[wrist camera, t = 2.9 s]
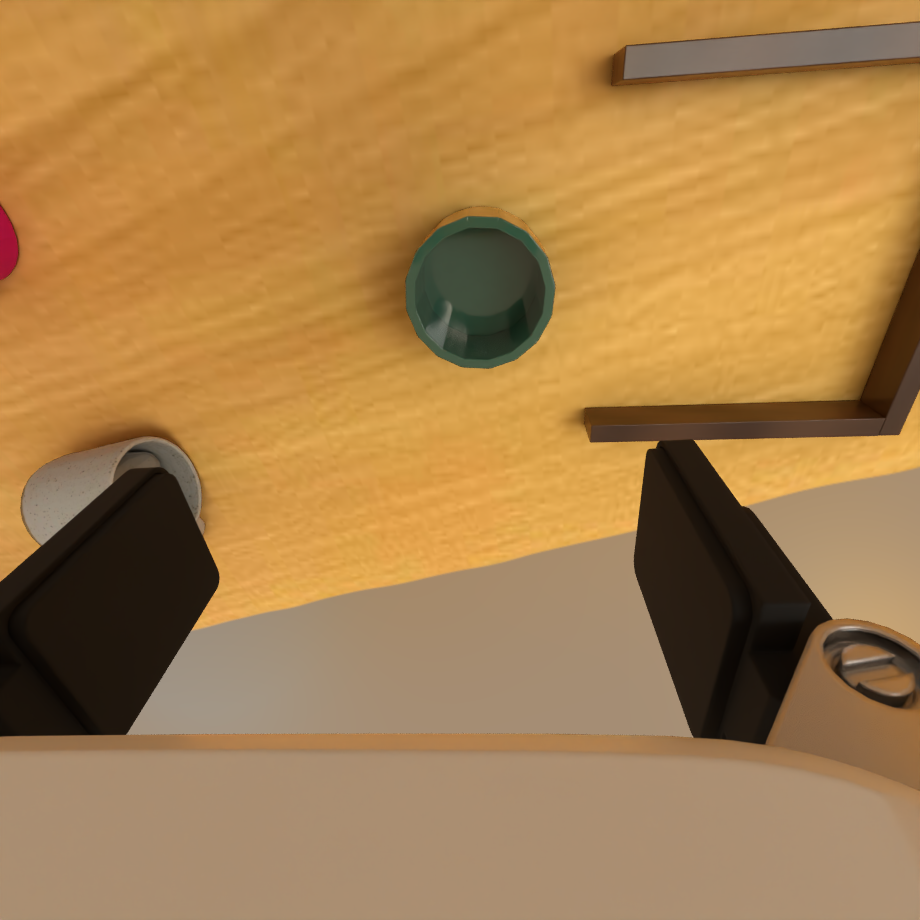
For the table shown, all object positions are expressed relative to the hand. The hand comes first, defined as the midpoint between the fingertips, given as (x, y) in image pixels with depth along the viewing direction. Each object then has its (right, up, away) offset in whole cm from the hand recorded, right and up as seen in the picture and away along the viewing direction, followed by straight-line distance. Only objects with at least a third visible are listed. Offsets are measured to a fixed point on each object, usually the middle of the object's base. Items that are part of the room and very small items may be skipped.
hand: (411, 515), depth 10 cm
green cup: (+2, +12, +19) cm, 22 cm away
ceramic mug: (-22, -1, +28) cm, 36 cm away
